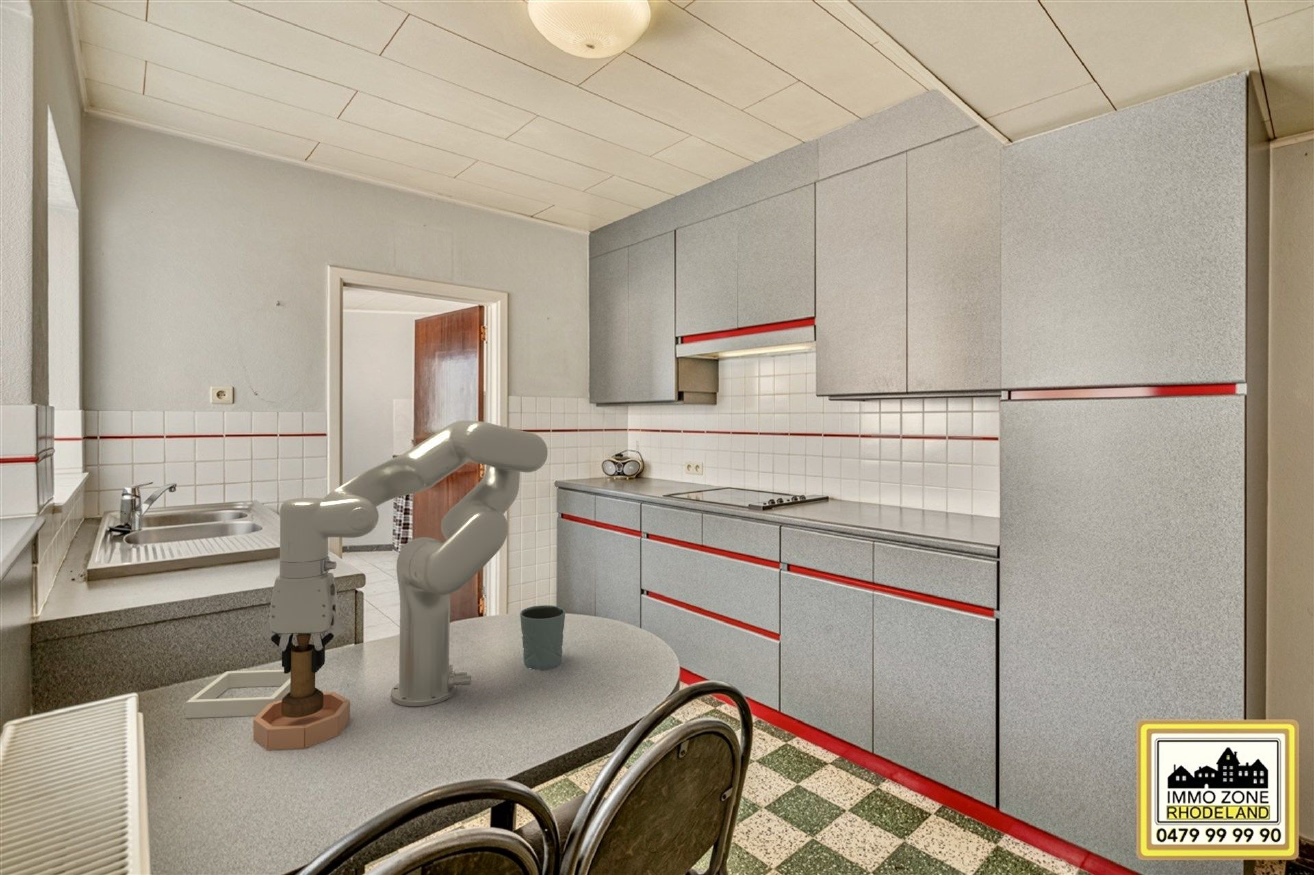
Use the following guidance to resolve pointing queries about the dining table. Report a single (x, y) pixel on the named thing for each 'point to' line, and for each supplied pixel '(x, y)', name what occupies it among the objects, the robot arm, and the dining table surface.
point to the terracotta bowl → (301, 724)
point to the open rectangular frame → (209, 706)
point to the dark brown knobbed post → (302, 682)
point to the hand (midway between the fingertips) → (303, 669)
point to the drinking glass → (542, 636)
